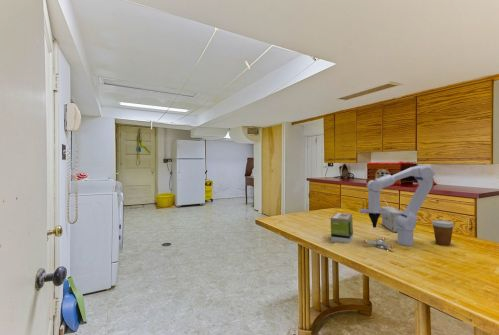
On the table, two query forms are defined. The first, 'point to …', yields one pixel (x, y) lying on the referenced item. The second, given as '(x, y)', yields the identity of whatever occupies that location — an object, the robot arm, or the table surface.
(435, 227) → the disposable coffee cup
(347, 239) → the tea box
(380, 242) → the capstan
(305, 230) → the table surface
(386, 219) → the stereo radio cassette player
